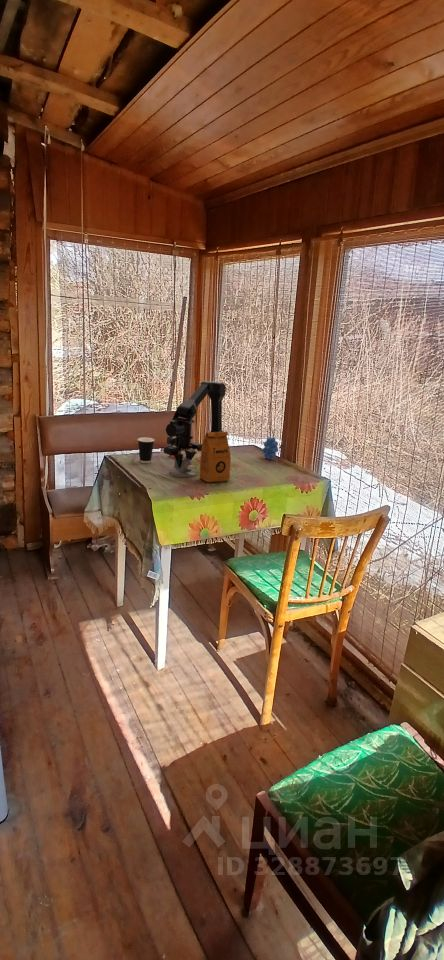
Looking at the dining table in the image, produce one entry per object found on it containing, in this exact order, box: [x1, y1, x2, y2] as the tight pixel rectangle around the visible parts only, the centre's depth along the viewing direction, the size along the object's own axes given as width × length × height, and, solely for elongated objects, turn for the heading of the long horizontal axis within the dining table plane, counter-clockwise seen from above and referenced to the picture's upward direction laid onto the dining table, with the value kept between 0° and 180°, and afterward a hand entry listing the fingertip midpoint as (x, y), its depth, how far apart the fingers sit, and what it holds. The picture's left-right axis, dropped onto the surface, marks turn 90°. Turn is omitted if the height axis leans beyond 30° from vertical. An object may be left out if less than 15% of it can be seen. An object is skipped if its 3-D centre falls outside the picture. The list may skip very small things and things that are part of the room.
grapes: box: [262, 436, 279, 460], centre depth 284 cm, size 12×7×12 cm, turn 32°
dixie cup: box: [137, 437, 155, 464], centre depth 264 cm, size 8×8×11 cm
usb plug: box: [173, 457, 197, 472], centre depth 249 cm, size 4×12×5 cm, turn 42°
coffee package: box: [199, 431, 232, 483], centre depth 242 cm, size 10×12×22 cm
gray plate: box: [168, 468, 197, 479], centre depth 251 cm, size 12×12×1 cm
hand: (183, 467), depth 250 cm, fingers closed on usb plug, 4 cm apart
